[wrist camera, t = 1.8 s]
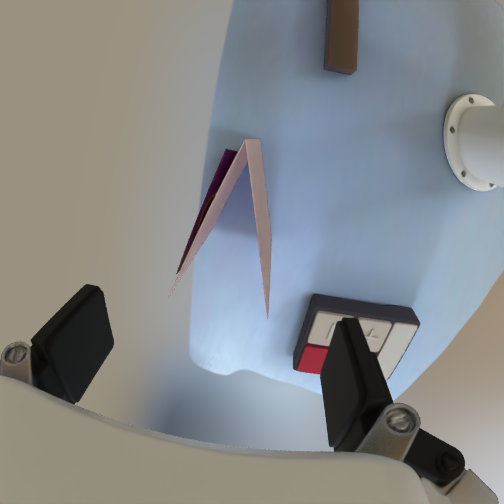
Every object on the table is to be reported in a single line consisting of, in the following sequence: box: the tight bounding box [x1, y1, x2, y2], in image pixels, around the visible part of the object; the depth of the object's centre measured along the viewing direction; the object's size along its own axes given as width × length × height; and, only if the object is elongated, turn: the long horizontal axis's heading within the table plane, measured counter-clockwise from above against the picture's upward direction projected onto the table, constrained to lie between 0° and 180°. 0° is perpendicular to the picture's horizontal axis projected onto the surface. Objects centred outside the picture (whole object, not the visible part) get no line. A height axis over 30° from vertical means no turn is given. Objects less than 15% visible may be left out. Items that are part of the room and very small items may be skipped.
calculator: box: [293, 294, 420, 380], centre depth 35 cm, size 11×4×15 cm
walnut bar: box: [324, 0, 359, 75], centre depth 21 cm, size 3×12×2 cm, turn 175°
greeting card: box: [169, 139, 272, 319], centre depth 24 cm, size 11×7×15 cm, turn 152°
